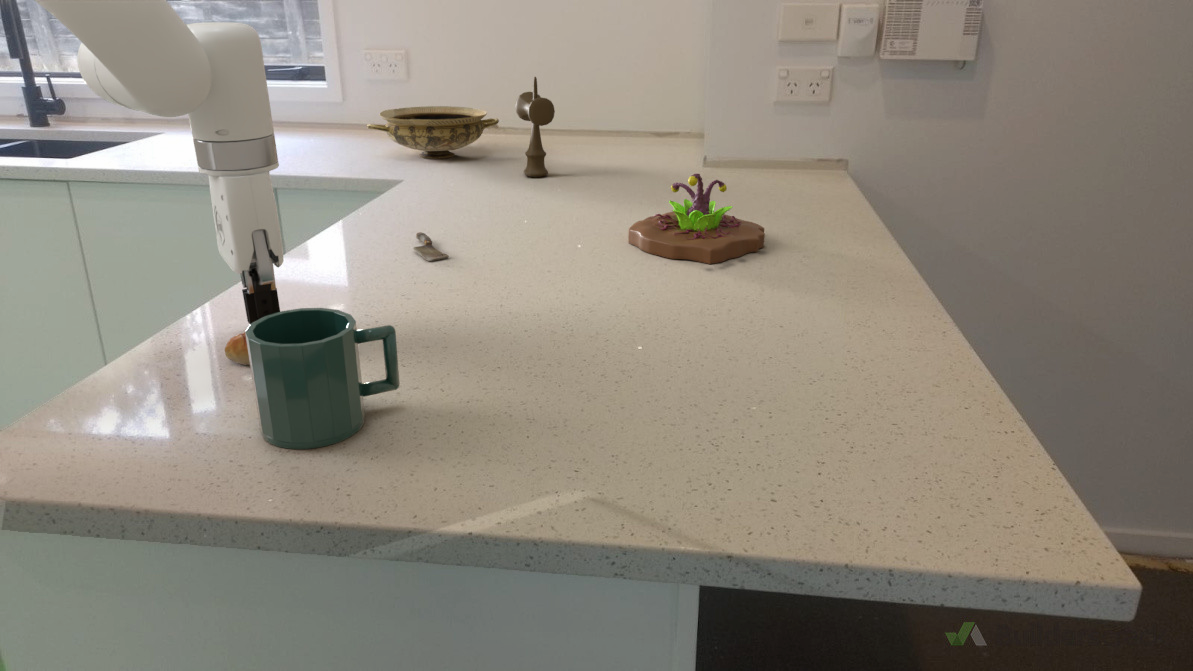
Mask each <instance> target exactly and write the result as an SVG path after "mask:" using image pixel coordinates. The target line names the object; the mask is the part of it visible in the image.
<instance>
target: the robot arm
mask: <svg viewBox="0 0 1193 671" xmlns="http://www.w3.org/2000/svg"><path fill="white" fill-rule="evenodd" d="M34 1H35V2H36V3H37V4H38V5H40V6H41V7H42V8H43V9H44V10H46V11H47V12H48V13H49V14H51V16H53V17H54V18H55V19H56V20H57V21H59V22H60V23H61V24H62V25H63V26H64V27H65V28H66V29H68V31H69V32H70V33H72V35H73V36H74V37H75V38H77V39H78V41H80V45H79V47H78V51H77V61H76V62H77V67H78V68H77V69H78V71H79V73H80V76H81V78H82V79H83V81H84V83H85V84H86V85H87V87H88V88H89V89H90V90H91V91H92V92H93V93H94V94H95V95H97V96H98V97H99V98H101V99H103V100H105V101H107V102H108V103H110V104H113V105H115V106H118V107H120V108H121V107H122V108H125V109H129V110H133V111H136V112H137V111H138V112H142V113H146V114H149V115H153V116H158V117H162V118H176V117H181V116H185V115H187V116H188V119H189V120H188V121H189V125H190V130H191V135H192V141H193V147H194V152H195V157H196V162H197V163H196V164H197V169H198V172H199V173H200V174H201V175H206V176H208V184H209V186H208V187H209V194H210V202H211V206H212V207H211V208H212V215H213V222H214V227H215V228H214V229H215V237H216V243H217V249H218V253H219V255H220V256H221V258H222V259H223V261H224V262H225V263H226V264H227V266H228V267H229V268H230V269H231V271H233V272H234V273H236V274H238V275H239V276H240V281H241V285H242V288H241V291H242V297H243V303H244V309H245V314H246V321H247V323H248V324H249V325H250V324H251V323H253V322H255V321H257V320H259V319H260V318H262V317H264V316H268V315H271V314H274V313H278V312H281V308H280V307H281V306H280V300H279V294H278V288H277V285H276V277H275V269H274V266H275V267H276V268H280V267H281V266H282V265H283V264H284V248H283V242H282V241H283V240H282V235H281V229H280V222H279V216H278V210H277V204H276V198H275V194H274V193H275V191H274V189H273V184H272V178H271V174H270V173H271V171H275V170H276V169H279V167H280V163H279V157H278V150H277V143H276V136H275V129H274V124H273V116H272V110H271V103H270V95H269V88H268V82H267V76H266V75H267V74H266V69H265V68H266V67H265V61H264V55H263V47H262V43H261V37H260V35H259V33H258V31H257V30H256V29H255V28H254V27H253V26H252V25H250V24H247V23H244V22H237V21H236V22H235V21H234V22H233V21H209V22H208V21H207V22H204V21H203V22H192V23H187V24H186V23H185V21H184V20H183V19H182V18H181V17H180V15H179V14H178V13H177V12H176V10H175V9H174V8H173V7H172V6H171V5H170V3H169V2H168V0H34Z"/></svg>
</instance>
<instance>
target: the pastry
mask: <svg viewBox="0 0 1193 671" xmlns="http://www.w3.org/2000/svg"><path fill="white" fill-rule="evenodd" d="M224 352H225V353H224V354H225V357H226V358H227V359H229V360H230V361H232V362H234V363H236V364H240V365H243V366H246V365H248V366H250V360H249V354H248V347H247V341H246V334H245V331H244V332H242V333H239V334H237V335H234V336H232V337H231V338H230V339H229V340H228V341H227V343H226V345H225V347H224Z"/></svg>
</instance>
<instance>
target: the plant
mask: <svg viewBox="0 0 1193 671" xmlns="http://www.w3.org/2000/svg"><path fill="white" fill-rule="evenodd" d="M687 184H688V185H689V186H688V185H687ZM687 184H685V183H683V182H674V183H673V184H671V185H670V190H671V192H673V193H678V192H679V191H680V188H681V189H682V188H683V189H684V190H685V192H686V193H688V195H690V198H691V200H692V201H690V200H689V199H687V198H685V199H683V205H682V204H681V203H679V202H677V201H672V200H669V201H668V204H670V205H671V206H672V208H673V209H672V210H671V211H669V212H665V213H662V214H661V213H655V214H654V215H652V216H648V217H646V218H644V219H642V220H638V221H635V222H634V223H633V224H632V225H631V226H630V227H629V228H628V232H627V233H628V236H627V242H628V244H630V245H632V246H635V247H637V248H639V249H640V250H641V251H642V252H645V253H647V254H650V255H653V256H654V255H655V256H659V257H662V258H665V259H670V260H686V261H687V260H688V261H694V262H699V263H704V264H708V265H712V264H718V263H719V264H720V263H723V262H725V261H727V260H732V259H736V258H739V257H742V256H744V255H746V254H749V253H756V252H759V249H762V248H764V244H765V237H766V233H765V227H763V226H762V225H761V224H758V223H756V222H753V221H748V220H743V219H740V218H738V217H736V216H735V215H728V214H726V213H727V212H730V210H731V209H732V208H733V205H730V206H729V205H728V206H724V207H720V208H718V209H717V210H715V208H716V204H717V203H716V200H711V194H712V191H713V188H714V186H715V185H717V186H718V191H720V192H721V193H725V192H726V191H727V188H728V187H727V186H728V185H726V183H725V182H723V181H722V180H718V179H715V180H712V181H711V182H710V183H709V185H707V187H706V188H705V190H704V182H703V177H701V173H693V174H691V175H690V176H689V177H688V179H687ZM695 186H696V187H697V188H696V192H695V191H694V190H693V189H692V188H691V187H695Z"/></svg>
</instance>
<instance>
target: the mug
mask: <svg viewBox="0 0 1193 671" xmlns="http://www.w3.org/2000/svg"><path fill="white" fill-rule="evenodd" d="M244 332H245V334H246V341H247V347H248V354H249V360H250V365H249V368H250V373H251V380H252V385H253V392H254V399H255V405H256V412H257V417H258V419H257V420H258V424H259V427H260V434H261V436H262V438H263V439H264V440H265V441H266V442H267V443H268V444H270V445H273V446H275V447H278V448H282V449H288V450H289V449H290V450H309V449H311V450H312V449H318V448H324V447H328V446H331V445H334V444H338V443H340V442H343V441H345V440H347V439H349V438H351V437H352V436H355V435H356V433H358V432H359V431H360V430H361V429H362V427H363V425H364V424H365V412H366V411H365V400H364V397H369V396H373V395H378V394H383V393H384V394H385V393H388V392H389V393H390V392H393V391H397V390H398V389H399V388H400V384H401V383H400V370H399V369H400V368H399V357H398V356H399V355H398V344H397V331H396V328H395V327H394V326H393V325H390V324H387V325H381V326H375V327H370V328H363V329H358V328H357V321H356V319H355V318H354V316H352V314H350V313H347V312H345V311H342V310H340V309H334V308H326V307H302V308H301V307H300V308H294V309H287V310H280V312H278V313H274V314H271V315H268V316H264V317H262V318H260V319H259V320H257V321H255V322H253V323H251V324H249V325H248V327H247V328H246V330H245V331H244ZM377 341H382V350H383V361H384V362H383V363H384V373H385V378H383V379H379V380H374V381H369V382H363V381H362V370H361V359H360V349H359V348H360V347H359V345H361V344H365V343H371V342H377Z"/></svg>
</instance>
